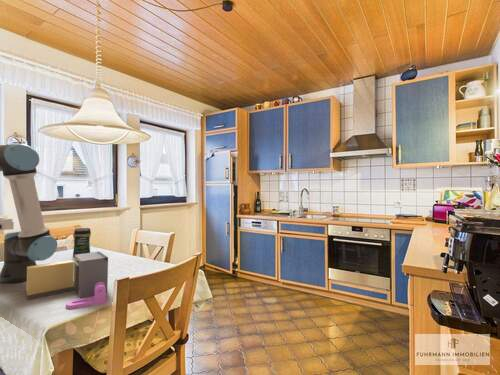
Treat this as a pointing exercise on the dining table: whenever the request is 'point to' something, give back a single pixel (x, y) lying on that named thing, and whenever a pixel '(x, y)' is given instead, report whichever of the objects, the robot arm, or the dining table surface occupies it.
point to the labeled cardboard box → (49, 277)
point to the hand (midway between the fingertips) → (13, 223)
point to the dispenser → (89, 272)
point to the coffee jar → (82, 241)
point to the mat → (50, 293)
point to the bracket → (90, 298)
